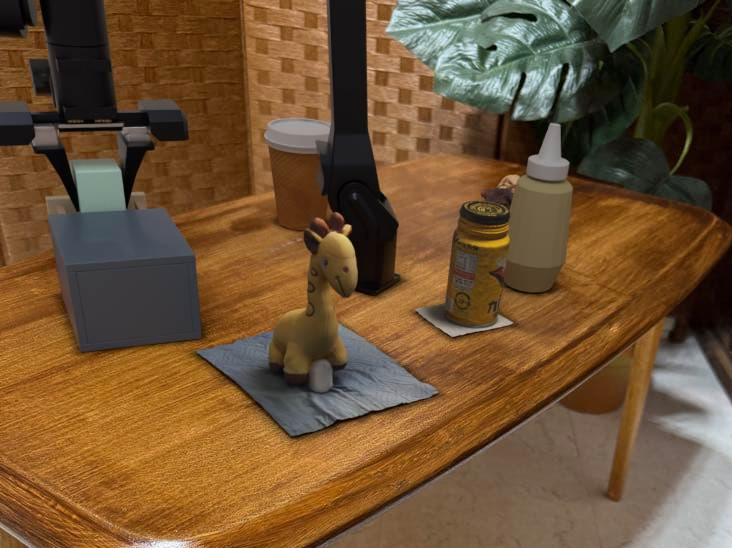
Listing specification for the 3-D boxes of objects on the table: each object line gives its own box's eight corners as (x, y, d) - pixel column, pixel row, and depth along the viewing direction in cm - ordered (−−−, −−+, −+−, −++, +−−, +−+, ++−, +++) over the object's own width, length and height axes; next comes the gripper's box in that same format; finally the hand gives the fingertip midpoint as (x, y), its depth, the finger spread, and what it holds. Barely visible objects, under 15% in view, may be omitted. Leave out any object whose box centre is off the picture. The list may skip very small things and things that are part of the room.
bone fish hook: (537, 239, 117) (552, 200, 131) (544, 205, 114) (559, 168, 128) (472, 226, 119) (494, 188, 132) (477, 192, 116) (499, 157, 129)
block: (120, 210, 93) (113, 157, 90) (128, 224, 90) (121, 170, 87) (77, 213, 92) (69, 159, 88) (83, 227, 89) (75, 172, 85)
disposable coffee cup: (350, 222, 115) (354, 127, 108) (307, 240, 109) (308, 140, 101) (295, 206, 119) (295, 113, 111) (251, 222, 112) (247, 124, 105)
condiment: (513, 324, 93) (532, 214, 86) (452, 338, 89) (466, 224, 82) (474, 299, 98) (488, 193, 91) (413, 312, 94) (423, 201, 87)
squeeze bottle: (573, 287, 103) (606, 128, 92) (534, 303, 99) (564, 138, 87) (520, 267, 107) (546, 112, 96) (481, 281, 103) (503, 120, 91)
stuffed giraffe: (290, 437, 71) (293, 247, 62) (196, 357, 82) (186, 185, 73) (437, 398, 80) (459, 226, 71) (333, 330, 91) (340, 173, 82)
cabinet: (62, 296, 90) (47, 214, 85) (171, 286, 94) (164, 207, 89) (80, 352, 81) (65, 264, 75) (201, 338, 85) (195, 254, 79)
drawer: (51, 243, 99) (40, 183, 95) (142, 237, 103) (135, 178, 98) (71, 302, 87) (60, 236, 83) (173, 292, 91) (167, 229, 87)
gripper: (159, 29, 89) (172, 182, 99) (-35, 25, 83) (0, 190, 92) (183, 49, 82) (195, 213, 92) (-28, 47, 75) (10, 224, 85)
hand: (101, 209), depth 90 cm, fingers closed on block, 4 cm apart
